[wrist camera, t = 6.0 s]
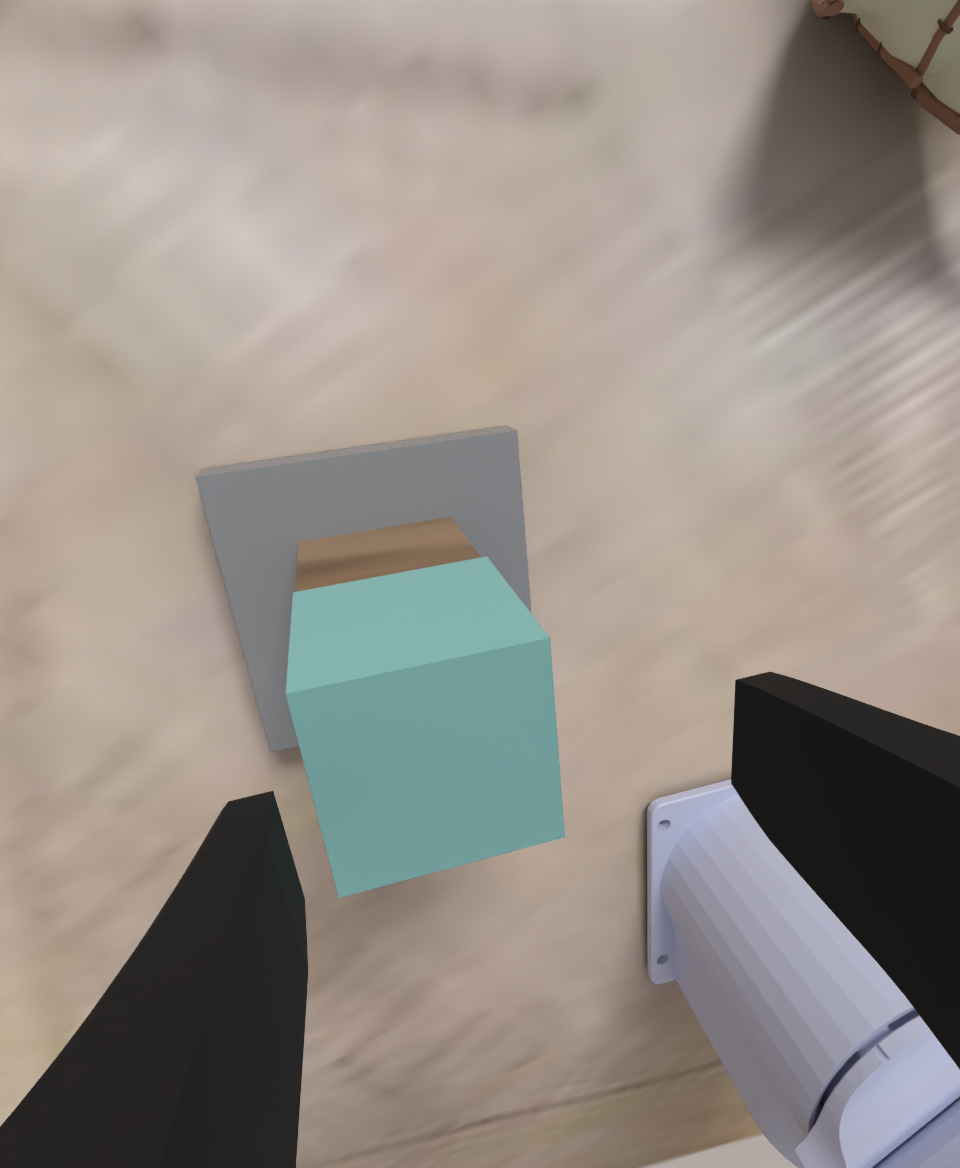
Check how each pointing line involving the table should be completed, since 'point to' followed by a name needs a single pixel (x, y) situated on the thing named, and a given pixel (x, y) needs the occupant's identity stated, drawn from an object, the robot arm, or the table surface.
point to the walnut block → (380, 553)
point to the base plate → (350, 528)
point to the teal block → (424, 721)
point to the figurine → (913, 46)
